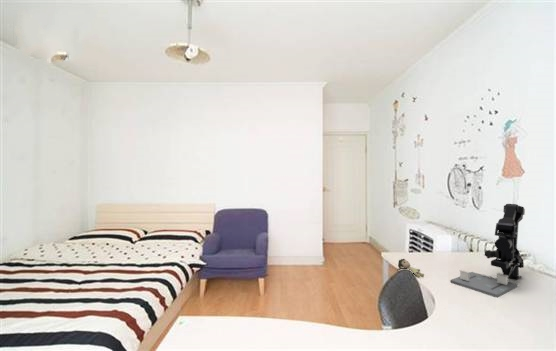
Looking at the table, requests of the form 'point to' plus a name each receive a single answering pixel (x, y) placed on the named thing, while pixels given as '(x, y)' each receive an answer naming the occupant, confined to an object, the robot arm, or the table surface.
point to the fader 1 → (464, 275)
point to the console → (485, 284)
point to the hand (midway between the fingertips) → (506, 278)
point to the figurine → (406, 265)
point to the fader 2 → (502, 278)
